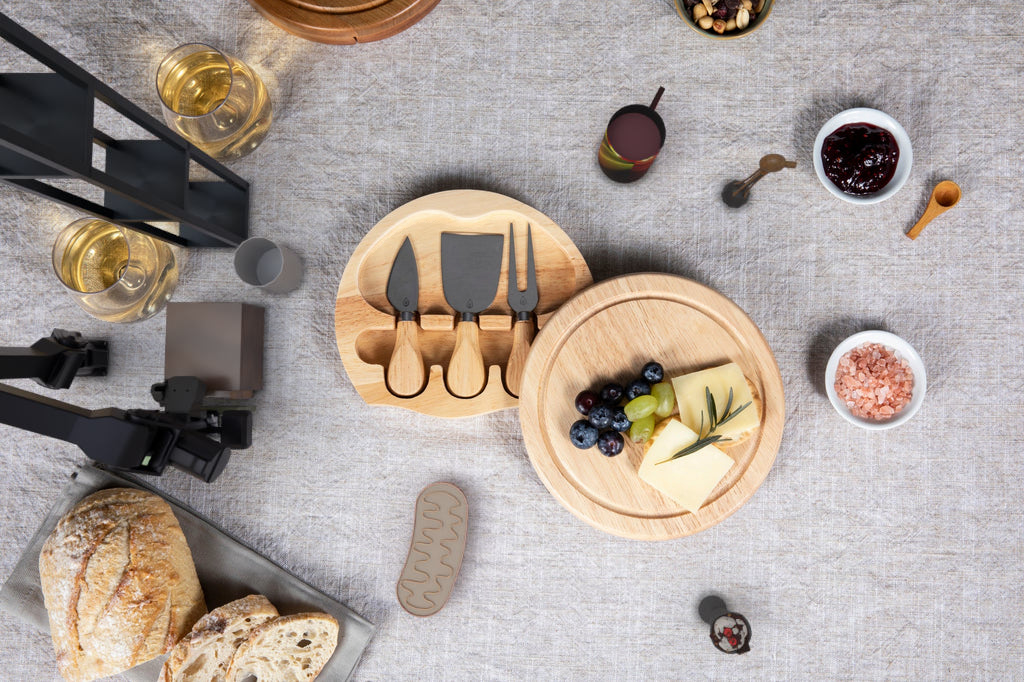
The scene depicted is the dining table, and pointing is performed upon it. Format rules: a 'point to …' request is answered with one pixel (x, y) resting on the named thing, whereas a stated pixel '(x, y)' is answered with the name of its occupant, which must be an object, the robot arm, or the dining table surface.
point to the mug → (632, 141)
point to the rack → (110, 155)
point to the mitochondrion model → (433, 550)
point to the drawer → (232, 396)
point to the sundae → (725, 626)
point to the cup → (267, 265)
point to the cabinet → (215, 344)
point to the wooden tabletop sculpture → (753, 180)
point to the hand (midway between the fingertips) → (216, 425)
